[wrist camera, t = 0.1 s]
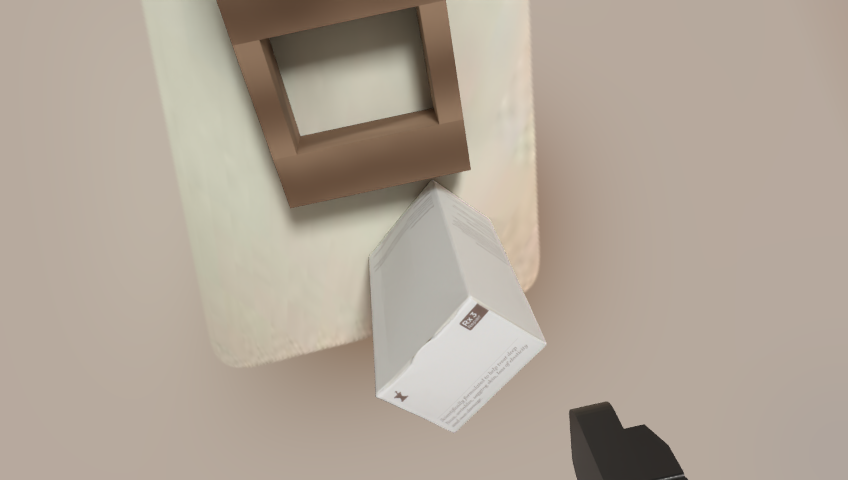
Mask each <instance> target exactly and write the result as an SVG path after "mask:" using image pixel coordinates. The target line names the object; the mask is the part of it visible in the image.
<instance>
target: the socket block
mask: <svg viewBox="0 0 848 480" xmlns="http://www.w3.org/2000/svg"><path fill="white" fill-rule="evenodd" d="M216 1H217V4H218V6H219V9H220V12H221V15H222V18H223V20H224V23H225V26H226V29H227V32H228V34H229V37H230V40H231V43H232V46H233V48H234V51H235V54H236V57H237V60H238V63H239V65H240V68H241V71H242V74H243V77H244V79H245V82H246V85H247V88H248V91H249V93H250V96H251V99H252V102H253V105H254V107H255V110H256V113H257V116H258V119H259V122H260V124H261V127H262V130H263V133H264V136H265V138H266V141H267V144H268V147H269V150H270V152H271V155H272V158H273V161H274V164H275V166H276V169H277V172H278V175H279V178H280V180H281V183H282V186H283V189H284V192H285V195H286V197H287V200H288V203H289V206H290V208H294V207H298V206H303V205H308V204H312V203H317V202H322V201H327V200H331V199H336V198H341V197H345V196H350V195H355V194H359V193H364V192H369V191H373V190H378V189H383V188H387V187H392V186H397V185H402V184H406V183H411V182H416V181H420V180H425V179H430V178H434V177H439V176H444V175H448V174H453V173H458V172H462V171H467V170H471V168H470V161H469V154H468V147H467V141H466V134H465V127H464V120H463V114H462V107H461V100H460V93H459V87H458V80H457V73H456V66H455V60H454V53H453V46H452V39H451V33H450V26H449V19H448V12H447V6H446V0H216ZM411 7H416V12H417V18H418V23H419V29H420V35H421V40H422V46H423V52H424V57H425V63H426V69H427V74H428V80H429V86H430V91H431V97H432V103H433V108H431V109H427V110H422V111H417V112H413V113H408V114H403V115H399V116H394V117H389V118H385V119H380V120H375V121H371V122H366V123H361V124H357V125H352V126H347V127H342V128H338V129H333V130H328V131H324V132H319V133H314V134H310V135H305V136H300V134H299V131H298V127H297V124H296V121H295V118H294V115H293V112H292V109H291V106H290V102H289V99H288V96H287V93H286V90H285V87H284V84H283V80H282V77H281V74H280V71H279V68H278V65H277V62H276V59H275V55H274V52H273V49H272V46H271V43H270V40H269V38H271V37H275V36H280V35H285V34H290V33H294V32H299V31H304V30H308V29H313V28H318V27H322V26H327V25H332V24H336V23H341V22H346V21H350V20H355V19H360V18H364V17H369V16H374V15H378V14H383V13H388V12H392V11H397V10H402V9H406V8H411Z"/></svg>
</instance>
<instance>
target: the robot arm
mask: <svg viewBox="0 0 848 480" xmlns="http://www.w3.org/2000/svg"><path fill="white" fill-rule="evenodd" d="M569 418H570V433H571V449H572V459H573V465H574V469H575V473H576V477H577V480H688V479H687V478H685V476H684V472H683V470H682V469H681V467H680V465H679V463H678V462H677V460H676V458H675V456H674V454H673V453H672V451H671V449H670V447H669V446H668V445H667V444H666V443H665V442H664V441H663V440H662V439H660V438H659V437H658V436H657V435H656V434H655V433H654V432H652V431H651V430H650V429H649V428H648V427H647V426H645V425H639V426H635V427H630V428H626V429H624V428H623V427H622V425H621V423H620V421H619V419H618V417H617V415H616V413H615V411H614V409H613V407H612V406H611V404H610V403H609V402H602V403H598V404H593V405H589V406H584V407H580V408H575V409H571V410H570V411H569Z"/></svg>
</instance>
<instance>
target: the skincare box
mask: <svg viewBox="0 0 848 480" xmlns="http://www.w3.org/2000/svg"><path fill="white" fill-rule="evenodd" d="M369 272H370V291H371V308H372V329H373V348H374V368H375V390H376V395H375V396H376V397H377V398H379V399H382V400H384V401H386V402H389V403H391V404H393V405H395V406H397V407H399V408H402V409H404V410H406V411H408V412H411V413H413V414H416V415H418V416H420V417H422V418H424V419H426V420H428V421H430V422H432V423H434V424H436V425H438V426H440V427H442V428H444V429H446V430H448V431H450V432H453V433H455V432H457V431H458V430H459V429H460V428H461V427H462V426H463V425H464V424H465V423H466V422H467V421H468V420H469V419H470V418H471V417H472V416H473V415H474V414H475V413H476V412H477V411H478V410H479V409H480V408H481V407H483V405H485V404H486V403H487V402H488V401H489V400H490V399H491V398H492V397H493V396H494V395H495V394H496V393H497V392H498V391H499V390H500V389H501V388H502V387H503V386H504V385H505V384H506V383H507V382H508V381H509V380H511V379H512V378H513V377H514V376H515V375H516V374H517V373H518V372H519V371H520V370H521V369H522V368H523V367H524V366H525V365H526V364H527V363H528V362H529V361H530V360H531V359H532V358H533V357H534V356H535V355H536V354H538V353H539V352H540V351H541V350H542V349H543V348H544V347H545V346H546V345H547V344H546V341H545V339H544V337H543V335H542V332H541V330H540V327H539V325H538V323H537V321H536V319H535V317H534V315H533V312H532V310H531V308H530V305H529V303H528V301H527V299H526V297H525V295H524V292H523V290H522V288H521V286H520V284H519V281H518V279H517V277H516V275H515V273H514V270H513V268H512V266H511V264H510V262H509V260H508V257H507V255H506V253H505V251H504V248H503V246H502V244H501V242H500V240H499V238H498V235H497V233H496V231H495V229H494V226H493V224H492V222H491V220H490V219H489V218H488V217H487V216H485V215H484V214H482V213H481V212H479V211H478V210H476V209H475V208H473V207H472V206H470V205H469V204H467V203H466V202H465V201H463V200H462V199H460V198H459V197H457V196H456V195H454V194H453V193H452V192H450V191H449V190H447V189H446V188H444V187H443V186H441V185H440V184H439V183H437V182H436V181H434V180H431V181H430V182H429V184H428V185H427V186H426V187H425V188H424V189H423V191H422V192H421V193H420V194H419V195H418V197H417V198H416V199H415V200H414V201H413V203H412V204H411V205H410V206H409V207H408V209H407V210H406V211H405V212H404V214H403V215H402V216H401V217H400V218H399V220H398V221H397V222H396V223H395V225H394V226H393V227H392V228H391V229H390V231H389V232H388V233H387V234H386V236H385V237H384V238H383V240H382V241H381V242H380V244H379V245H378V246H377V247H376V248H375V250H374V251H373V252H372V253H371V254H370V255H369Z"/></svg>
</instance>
